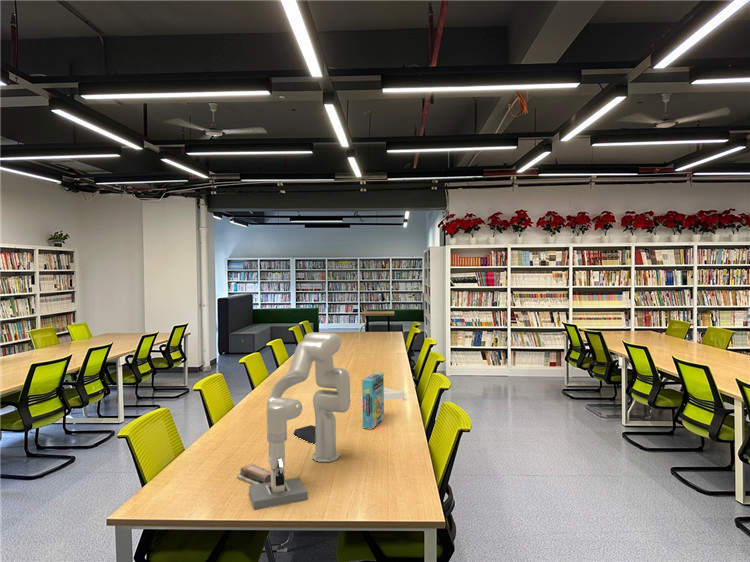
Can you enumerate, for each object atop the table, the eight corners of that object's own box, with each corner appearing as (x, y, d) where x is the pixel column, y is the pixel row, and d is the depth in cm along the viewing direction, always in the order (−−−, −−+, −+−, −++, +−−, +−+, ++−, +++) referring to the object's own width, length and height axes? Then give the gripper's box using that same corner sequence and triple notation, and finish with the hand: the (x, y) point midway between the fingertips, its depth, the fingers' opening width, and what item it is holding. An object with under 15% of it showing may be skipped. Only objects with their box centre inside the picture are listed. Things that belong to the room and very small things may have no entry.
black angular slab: (312, 430, 262) (312, 423, 262) (333, 439, 248) (333, 431, 248) (291, 436, 254) (291, 428, 254) (312, 446, 239) (312, 437, 239)
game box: (373, 430, 261) (372, 380, 261) (362, 428, 263) (361, 380, 263) (384, 419, 281) (384, 373, 280) (374, 418, 283) (373, 372, 282)
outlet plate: (249, 493, 188) (248, 485, 187) (299, 484, 195) (299, 476, 195) (254, 509, 175) (253, 500, 174) (307, 499, 182) (307, 490, 182)
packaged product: (235, 467, 202) (255, 460, 209) (236, 479, 202) (255, 471, 209) (262, 479, 190) (282, 470, 198) (262, 491, 190) (282, 482, 198)
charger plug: (271, 495, 186) (270, 461, 186) (282, 492, 188) (281, 460, 188) (273, 499, 182) (272, 466, 182) (284, 497, 184) (284, 464, 183)
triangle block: (404, 401, 320) (404, 392, 320) (377, 409, 301) (377, 400, 301) (372, 394, 340) (372, 385, 340) (345, 401, 322) (345, 392, 322)
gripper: (263, 430, 191) (264, 473, 191) (271, 445, 175) (271, 491, 175) (282, 428, 194) (282, 470, 194) (291, 442, 178) (292, 487, 178)
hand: (277, 480), depth 185 cm, fingers open, 9 cm apart
